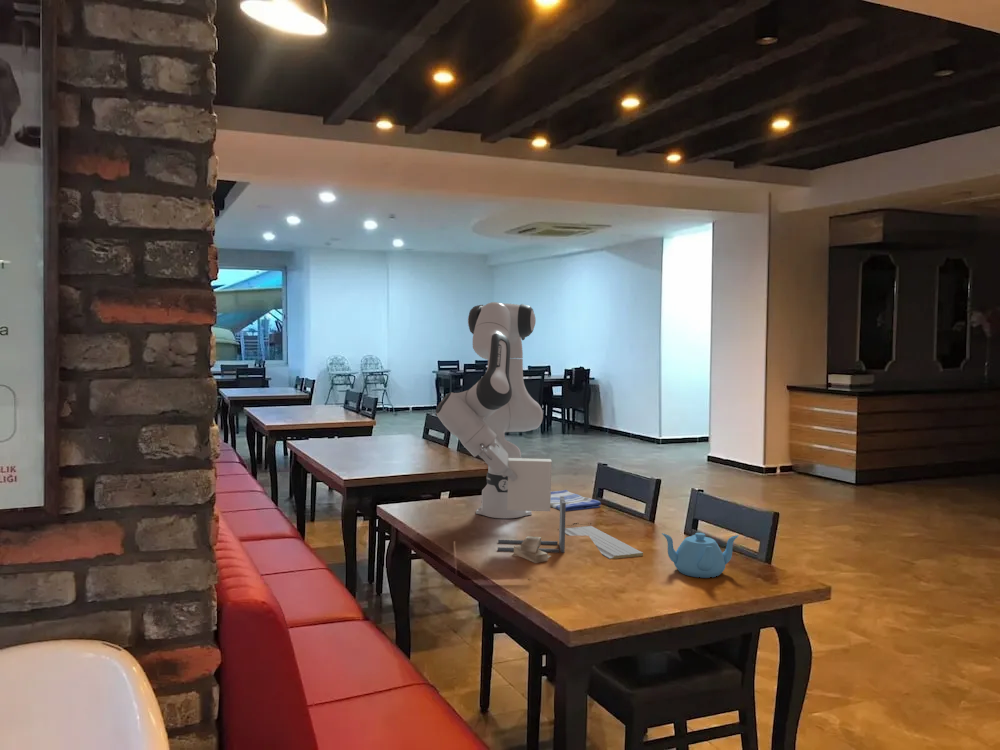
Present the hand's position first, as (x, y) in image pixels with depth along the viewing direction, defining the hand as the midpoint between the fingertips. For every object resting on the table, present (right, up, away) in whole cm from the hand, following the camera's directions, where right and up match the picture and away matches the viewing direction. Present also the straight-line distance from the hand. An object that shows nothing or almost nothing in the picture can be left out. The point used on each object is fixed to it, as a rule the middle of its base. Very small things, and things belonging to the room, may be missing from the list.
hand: (515, 477), depth 216 cm
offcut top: (+4, -18, -7) cm, 20 cm away
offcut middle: (+4, -20, -9) cm, 23 cm away
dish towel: (+19, -19, +65) cm, 70 cm away
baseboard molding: (+24, -22, +11) cm, 35 cm away
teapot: (+48, -23, -16) cm, 55 cm away
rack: (+3, -21, +1) cm, 21 cm away
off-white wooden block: (+4, -9, 0) cm, 10 cm away
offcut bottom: (+4, -22, -7) cm, 24 cm away
